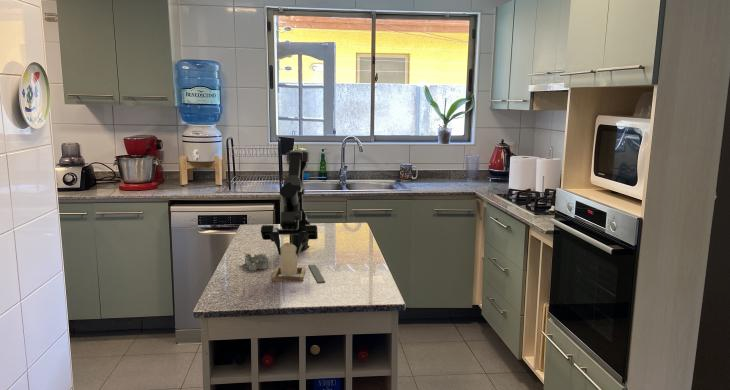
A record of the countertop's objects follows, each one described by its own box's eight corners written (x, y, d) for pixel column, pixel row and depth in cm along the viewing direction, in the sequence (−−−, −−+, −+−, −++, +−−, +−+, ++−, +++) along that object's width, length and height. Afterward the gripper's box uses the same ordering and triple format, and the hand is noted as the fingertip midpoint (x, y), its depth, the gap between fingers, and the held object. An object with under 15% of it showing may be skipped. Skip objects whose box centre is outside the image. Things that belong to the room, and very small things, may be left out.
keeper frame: (276, 271, 176) (276, 267, 176) (305, 271, 177) (305, 267, 177) (272, 281, 167) (272, 277, 166) (303, 281, 167) (303, 276, 167)
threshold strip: (325, 282, 166) (325, 281, 166) (317, 283, 165) (317, 281, 165) (315, 265, 183) (315, 264, 183) (308, 266, 182) (308, 265, 182)
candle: (300, 272, 172) (300, 243, 170) (287, 276, 168) (286, 247, 166) (290, 268, 176) (290, 240, 174) (277, 272, 172) (276, 243, 170)
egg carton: (244, 263, 187) (243, 252, 186) (264, 260, 190) (264, 250, 189) (248, 271, 177) (247, 260, 176) (270, 269, 180) (269, 257, 179)
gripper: (260, 201, 171) (256, 243, 162) (316, 201, 172) (315, 242, 163) (264, 219, 180) (261, 259, 171) (318, 218, 181) (317, 258, 172)
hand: (288, 254), depth 169 cm, fingers closed on candle, 5 cm apart
